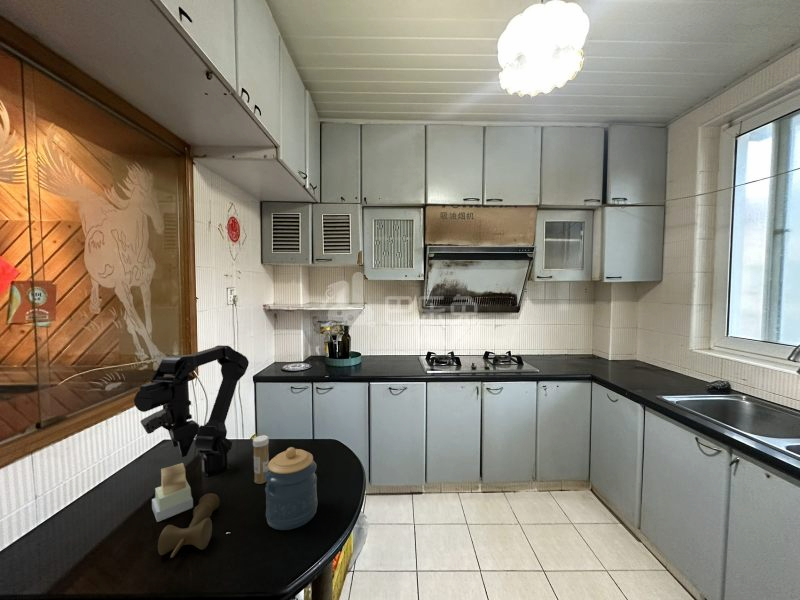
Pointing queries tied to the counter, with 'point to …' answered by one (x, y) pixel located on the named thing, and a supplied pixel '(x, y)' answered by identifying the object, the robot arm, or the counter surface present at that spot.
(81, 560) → the counter surface
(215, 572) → the counter surface
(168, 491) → the maple cube
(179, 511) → the base block
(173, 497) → the sage block
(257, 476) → the sprinkles bottle
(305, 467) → the canister
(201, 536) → the kendama
